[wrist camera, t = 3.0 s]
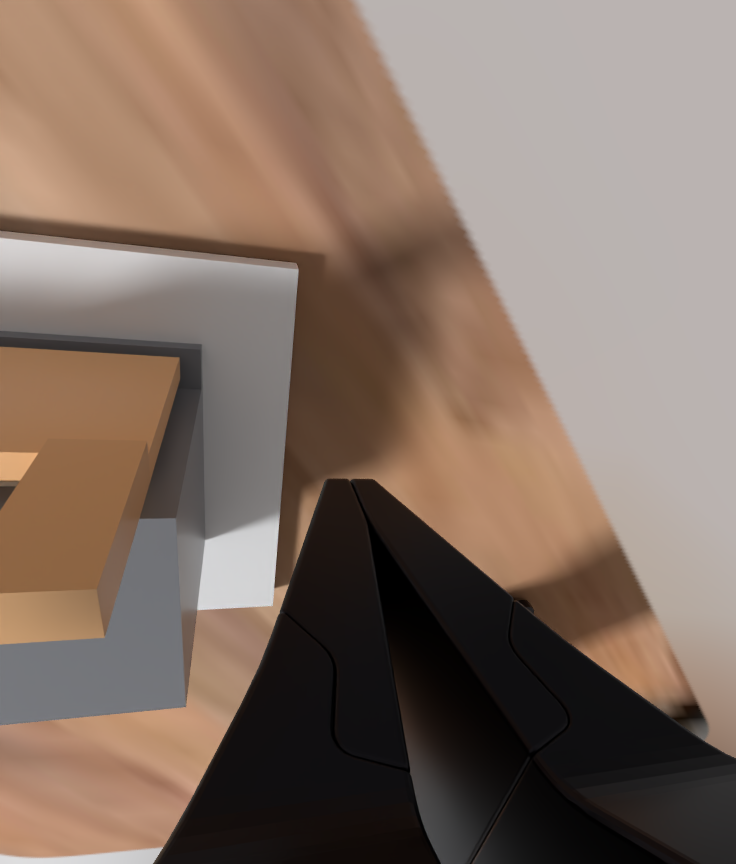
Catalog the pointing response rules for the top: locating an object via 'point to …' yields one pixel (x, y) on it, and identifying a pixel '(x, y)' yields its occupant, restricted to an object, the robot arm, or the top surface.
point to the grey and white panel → (162, 454)
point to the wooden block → (74, 482)
